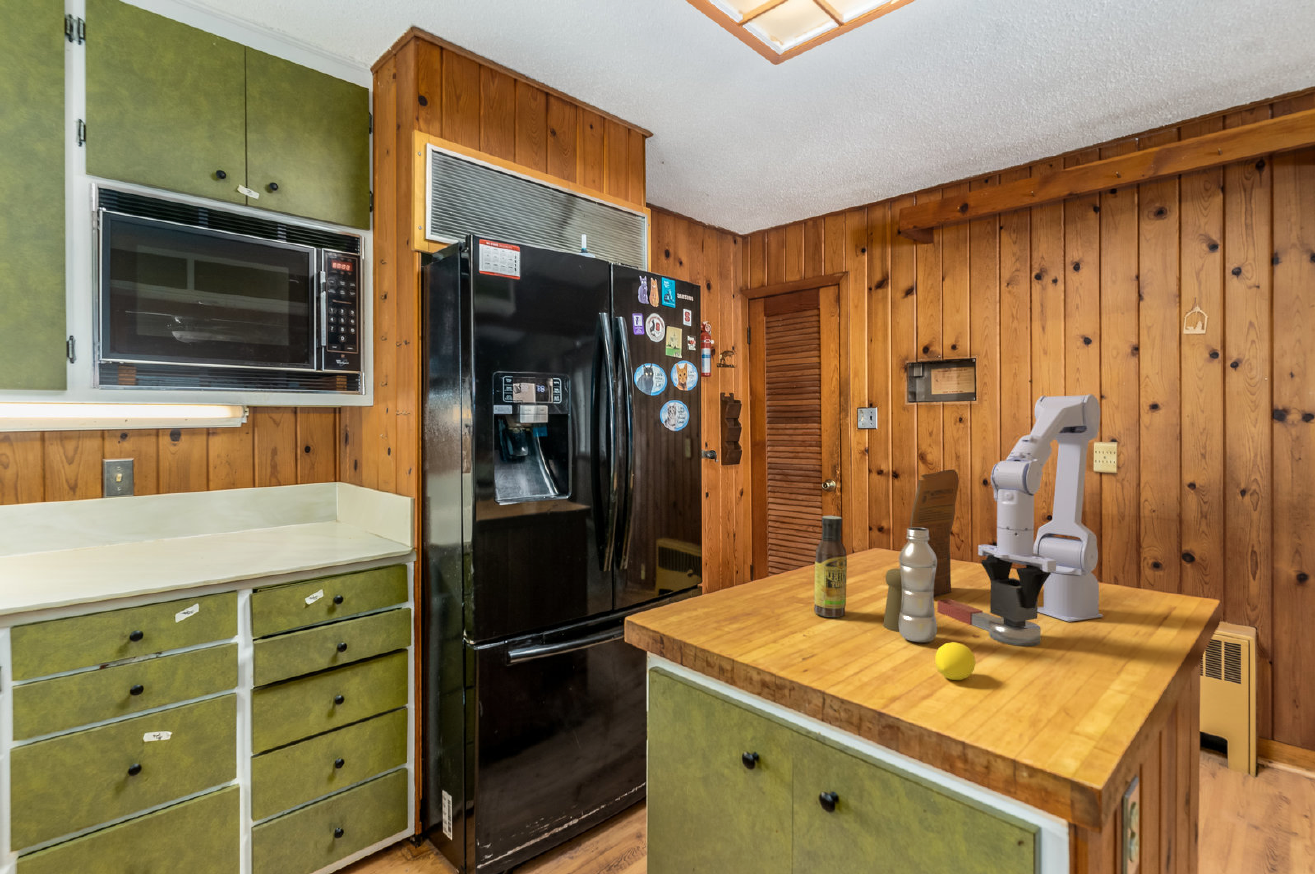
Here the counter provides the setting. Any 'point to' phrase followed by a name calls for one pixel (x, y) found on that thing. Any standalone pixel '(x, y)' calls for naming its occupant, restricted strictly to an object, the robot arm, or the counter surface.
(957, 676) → the lemon
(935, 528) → the pancake mix bag
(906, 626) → the plastic bottle
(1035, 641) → the ratchet
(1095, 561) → the robot arm
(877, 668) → the counter surface
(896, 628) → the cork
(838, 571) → the sauce bottle
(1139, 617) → the counter surface
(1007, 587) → the square hollow tube
